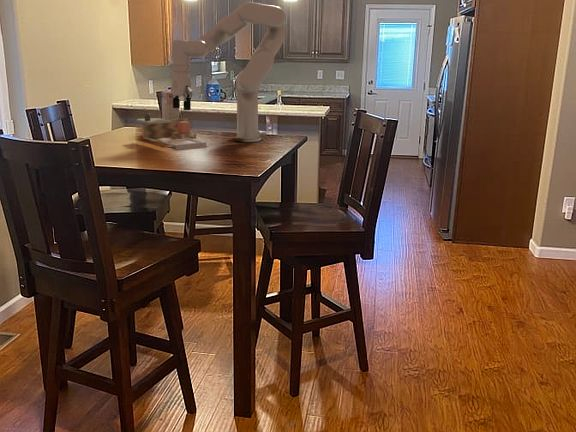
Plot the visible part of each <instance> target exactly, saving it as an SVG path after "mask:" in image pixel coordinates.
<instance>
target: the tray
mask: <svg viewBox="0 0 576 432" xmlns="http://www.w3.org/2000/svg"><path fill="white" fill-rule="evenodd" d="M185 141H190V142H191V141H192V143H179V144H178V143H175V142H185ZM173 142H174V143H173ZM160 143H162V144H166V145H169V146H166V148H167V149H172V150H176V151H181V150H182V149H183V150H191V149H200V148H201V149H202V148H207V141H203V140H199V139H196V138H195V139H190V138H188V139H176V140H164V141H160ZM183 150H182V151H183Z"/></svg>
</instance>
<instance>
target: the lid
mask: <svg viewBox="0 0 576 432" xmlns="http://www.w3.org/2000/svg"><path fill="white" fill-rule="evenodd" d="M136 122H141V123H142V122H144V123H148V124H154V123H171V120H166V119H162V118H160V117H151V113H150V112H149V113H147V112H145V113H144V118H136Z"/></svg>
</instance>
